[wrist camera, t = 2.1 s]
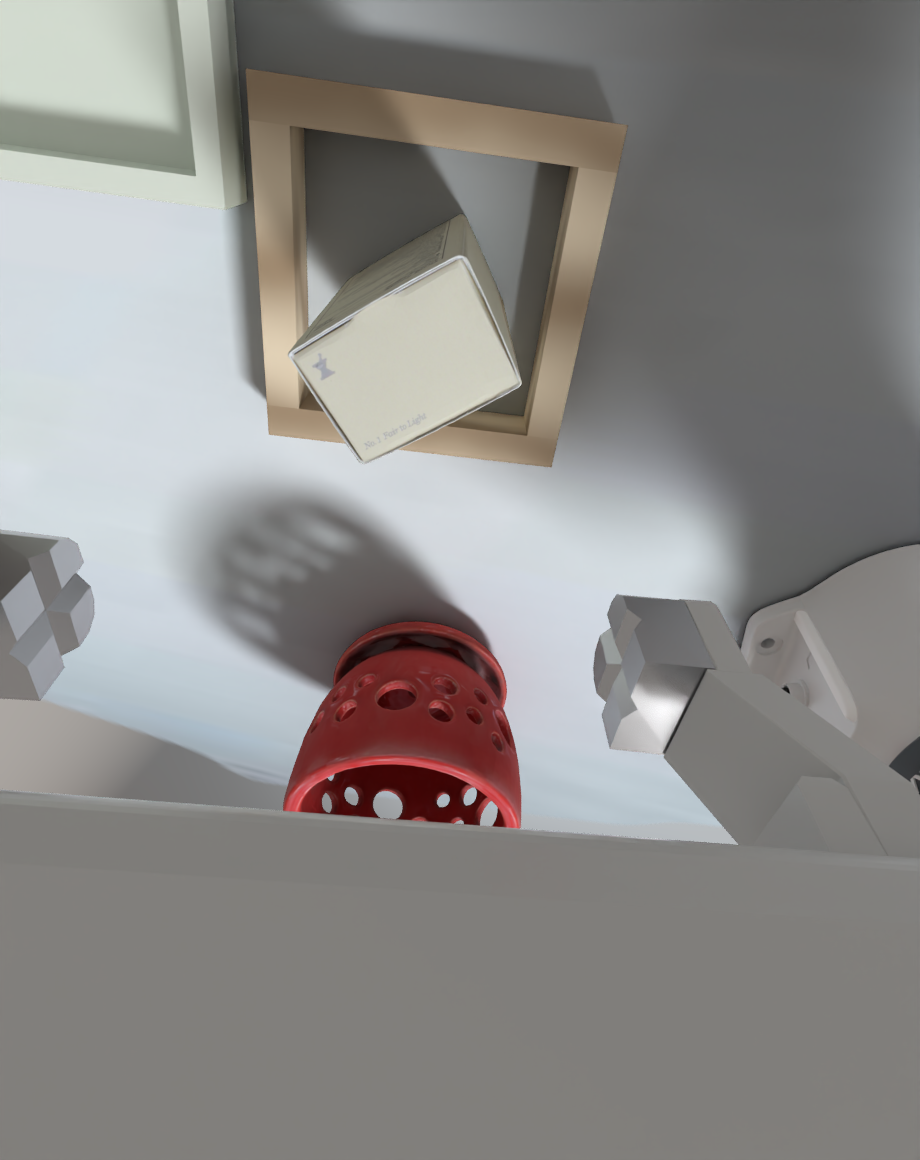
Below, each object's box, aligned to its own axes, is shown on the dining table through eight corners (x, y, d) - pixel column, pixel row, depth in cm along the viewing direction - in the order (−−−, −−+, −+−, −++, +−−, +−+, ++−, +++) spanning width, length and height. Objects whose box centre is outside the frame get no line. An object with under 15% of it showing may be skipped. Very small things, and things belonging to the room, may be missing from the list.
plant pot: (340, 581, 39) (297, 733, 30) (539, 628, 41) (559, 785, 32) (309, 718, 47) (267, 875, 37) (479, 752, 49) (481, 910, 39)
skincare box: (393, 362, 31) (357, 475, 21) (343, 275, 29) (277, 355, 19) (509, 301, 29) (528, 392, 20) (466, 202, 27) (463, 249, 17)
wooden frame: (546, 446, 34) (551, 467, 32) (281, 415, 33) (268, 434, 31) (615, 124, 25) (628, 125, 23) (264, 72, 25) (245, 68, 23)
